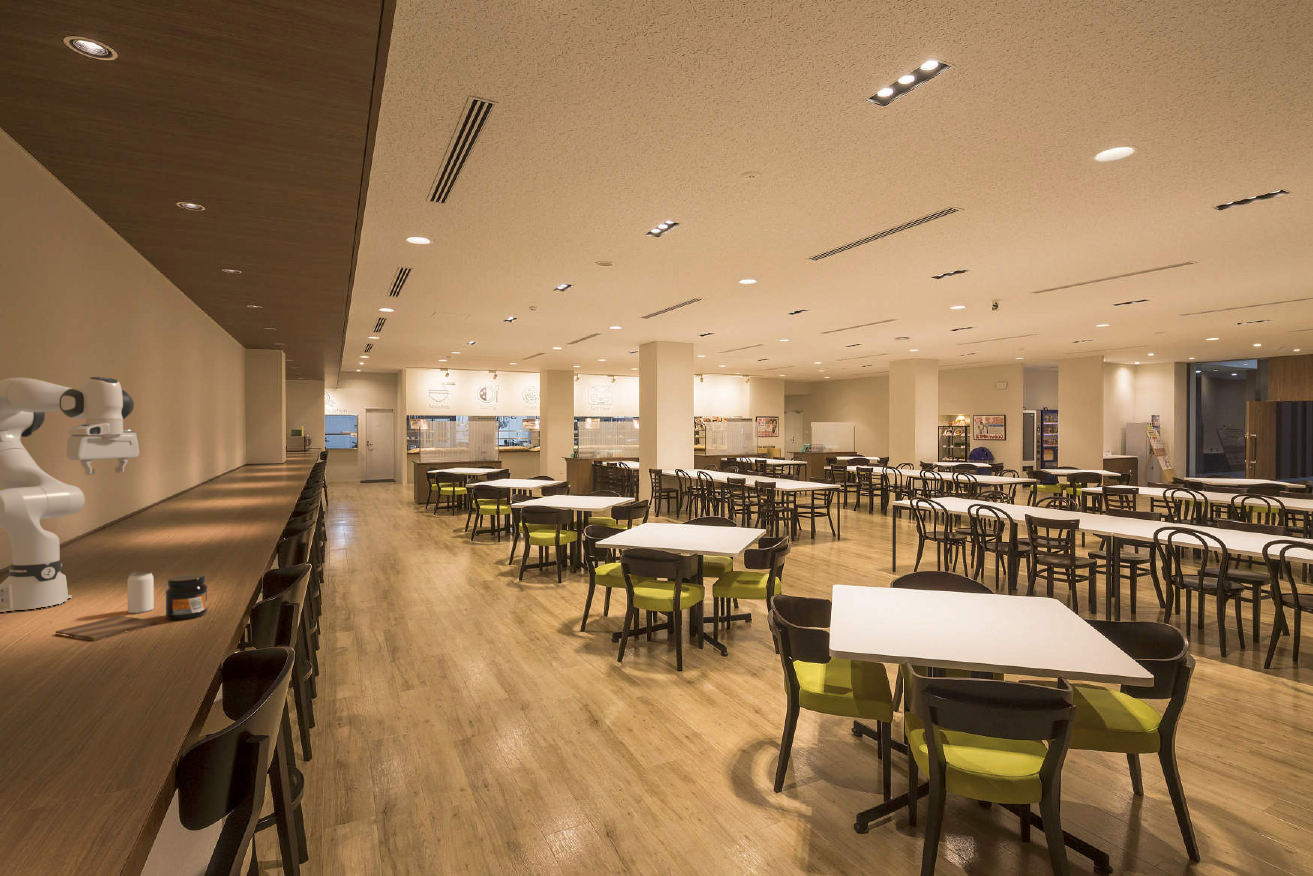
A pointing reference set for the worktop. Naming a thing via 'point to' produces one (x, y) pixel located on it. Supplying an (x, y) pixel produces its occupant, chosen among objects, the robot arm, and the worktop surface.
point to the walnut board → (106, 627)
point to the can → (140, 592)
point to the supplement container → (186, 597)
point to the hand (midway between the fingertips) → (105, 473)
